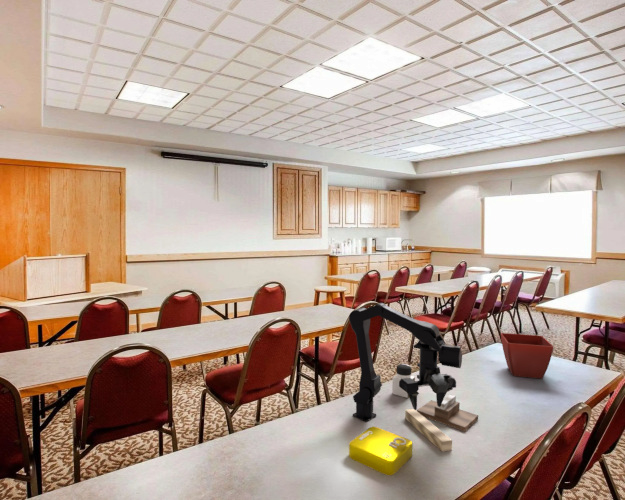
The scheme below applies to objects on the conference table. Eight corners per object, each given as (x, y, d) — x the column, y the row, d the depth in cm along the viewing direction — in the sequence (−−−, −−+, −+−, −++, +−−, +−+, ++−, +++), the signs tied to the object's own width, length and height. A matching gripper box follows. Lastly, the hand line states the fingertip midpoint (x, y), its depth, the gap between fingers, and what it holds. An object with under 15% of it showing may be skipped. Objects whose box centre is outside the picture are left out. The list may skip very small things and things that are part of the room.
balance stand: (465, 431, 130) (465, 412, 130) (416, 414, 142) (417, 396, 142) (478, 419, 139) (478, 401, 138) (431, 403, 151) (431, 387, 151)
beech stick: (451, 451, 119) (452, 440, 119) (442, 452, 118) (442, 441, 118) (413, 418, 140) (413, 408, 140) (405, 419, 139) (405, 409, 139)
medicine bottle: (408, 398, 156) (408, 369, 155) (391, 394, 160) (392, 365, 159) (414, 392, 161) (415, 364, 161) (399, 388, 166) (399, 361, 165)
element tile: (372, 437, 126) (372, 423, 126) (414, 454, 117) (415, 439, 116) (346, 457, 115) (346, 442, 114) (391, 478, 105) (391, 462, 105)
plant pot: (506, 377, 180) (507, 342, 179) (499, 364, 198) (500, 332, 197) (552, 382, 174) (554, 346, 173) (540, 368, 192) (542, 335, 192)
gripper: (417, 373, 117) (415, 423, 118) (468, 368, 123) (466, 415, 123) (398, 361, 128) (397, 407, 129) (446, 357, 133) (445, 401, 134)
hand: (427, 408), depth 128 cm, fingers open, 9 cm apart
